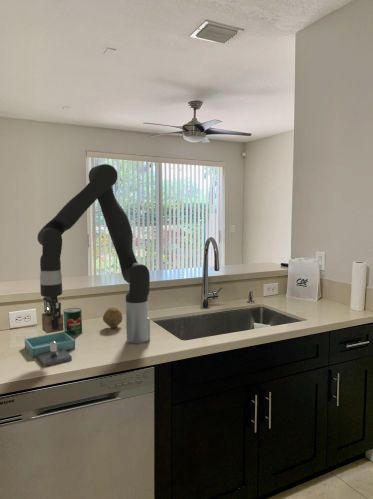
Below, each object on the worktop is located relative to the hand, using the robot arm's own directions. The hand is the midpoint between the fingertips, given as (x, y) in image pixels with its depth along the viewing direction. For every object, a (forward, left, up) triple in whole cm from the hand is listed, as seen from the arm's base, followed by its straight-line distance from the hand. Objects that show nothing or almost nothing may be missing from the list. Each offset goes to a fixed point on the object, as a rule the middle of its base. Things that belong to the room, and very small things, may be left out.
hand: (52, 327), depth 136 cm
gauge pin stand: (0, 0, -12) cm, 12 cm away
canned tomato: (-16, -26, -13) cm, 33 cm away
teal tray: (-2, -13, -12) cm, 18 cm away
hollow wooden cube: (0, 0, -1) cm, 1 cm away
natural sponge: (-34, -23, -12) cm, 43 cm away
